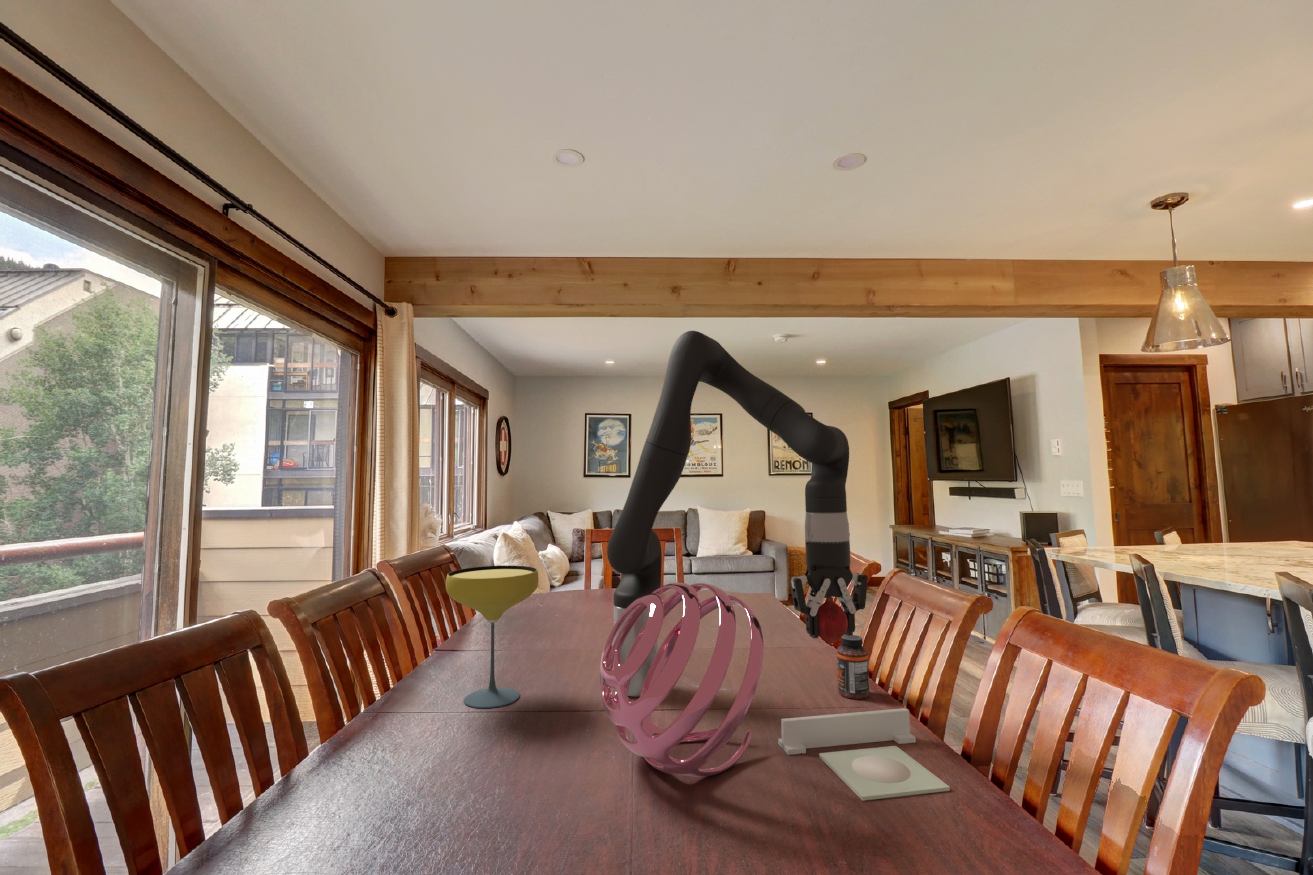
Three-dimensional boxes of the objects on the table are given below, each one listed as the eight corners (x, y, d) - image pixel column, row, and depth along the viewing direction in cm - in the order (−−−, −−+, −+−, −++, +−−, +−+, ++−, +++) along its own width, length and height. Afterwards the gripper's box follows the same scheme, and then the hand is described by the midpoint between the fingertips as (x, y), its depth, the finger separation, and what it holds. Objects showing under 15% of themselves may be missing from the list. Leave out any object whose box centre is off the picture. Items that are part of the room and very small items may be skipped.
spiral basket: (771, 606, 110) (657, 528, 103) (850, 694, 83) (703, 597, 76) (681, 726, 110) (560, 657, 103) (730, 853, 83) (572, 772, 76)
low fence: (787, 754, 93) (787, 725, 93) (778, 743, 97) (777, 715, 97) (915, 742, 96) (914, 713, 97) (901, 732, 100) (900, 704, 101)
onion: (850, 648, 100) (848, 600, 100) (815, 647, 101) (813, 599, 101) (846, 639, 105) (844, 593, 106) (812, 638, 106) (811, 593, 107)
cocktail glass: (544, 707, 113) (545, 575, 115) (444, 722, 107) (446, 581, 109) (531, 678, 130) (531, 563, 132) (443, 689, 124) (445, 568, 126)
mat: (862, 800, 79) (862, 796, 79) (819, 756, 92) (819, 752, 92) (949, 790, 81) (949, 786, 82) (895, 748, 94) (895, 745, 94)
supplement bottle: (833, 690, 121) (831, 633, 122) (861, 688, 121) (859, 632, 122) (845, 700, 115) (843, 641, 116) (874, 699, 116) (872, 640, 116)
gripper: (853, 534, 109) (857, 628, 108) (780, 537, 107) (783, 633, 105) (876, 538, 102) (880, 638, 101) (797, 541, 99) (801, 644, 98)
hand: (830, 635), depth 103 cm, fingers closed on onion, 5 cm apart
